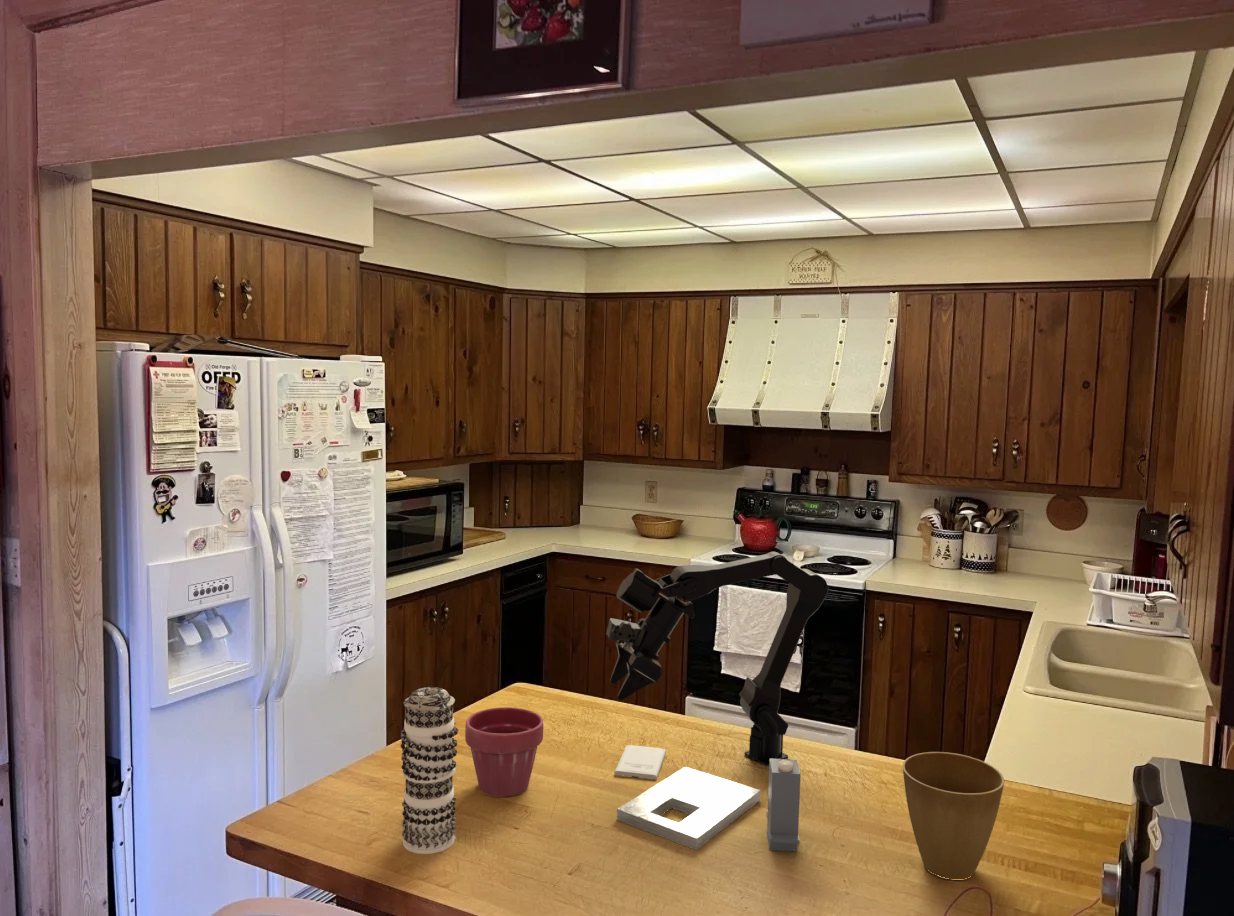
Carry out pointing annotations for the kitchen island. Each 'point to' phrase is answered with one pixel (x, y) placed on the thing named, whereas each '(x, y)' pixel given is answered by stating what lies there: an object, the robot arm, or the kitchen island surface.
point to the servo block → (783, 804)
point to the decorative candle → (429, 771)
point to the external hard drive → (641, 762)
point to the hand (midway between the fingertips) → (615, 690)
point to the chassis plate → (689, 806)
